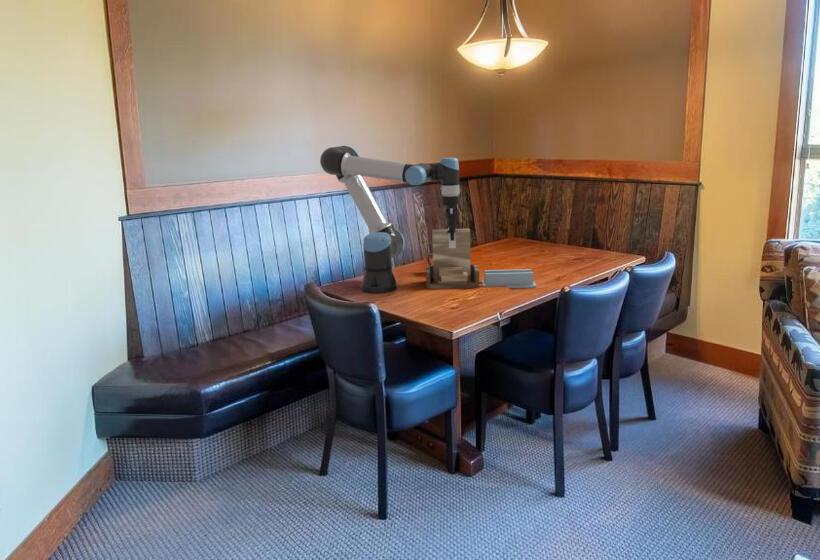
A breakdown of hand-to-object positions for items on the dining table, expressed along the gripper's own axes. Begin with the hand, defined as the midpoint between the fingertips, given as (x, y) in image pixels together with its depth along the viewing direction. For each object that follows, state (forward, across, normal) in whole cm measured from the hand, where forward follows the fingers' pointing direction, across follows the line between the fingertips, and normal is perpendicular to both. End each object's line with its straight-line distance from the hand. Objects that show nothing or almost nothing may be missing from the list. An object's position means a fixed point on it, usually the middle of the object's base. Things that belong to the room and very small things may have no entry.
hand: (451, 245), depth 262 cm
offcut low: (+16, +6, 0) cm, 17 cm away
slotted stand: (+18, +4, +23) cm, 30 cm away
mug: (+17, -18, -6) cm, 25 cm away
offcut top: (+11, +6, -1) cm, 13 cm away
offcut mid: (+14, +6, 0) cm, 15 cm away
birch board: (+16, 0, 0) cm, 16 cm away
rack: (+17, +4, 0) cm, 18 cm away
